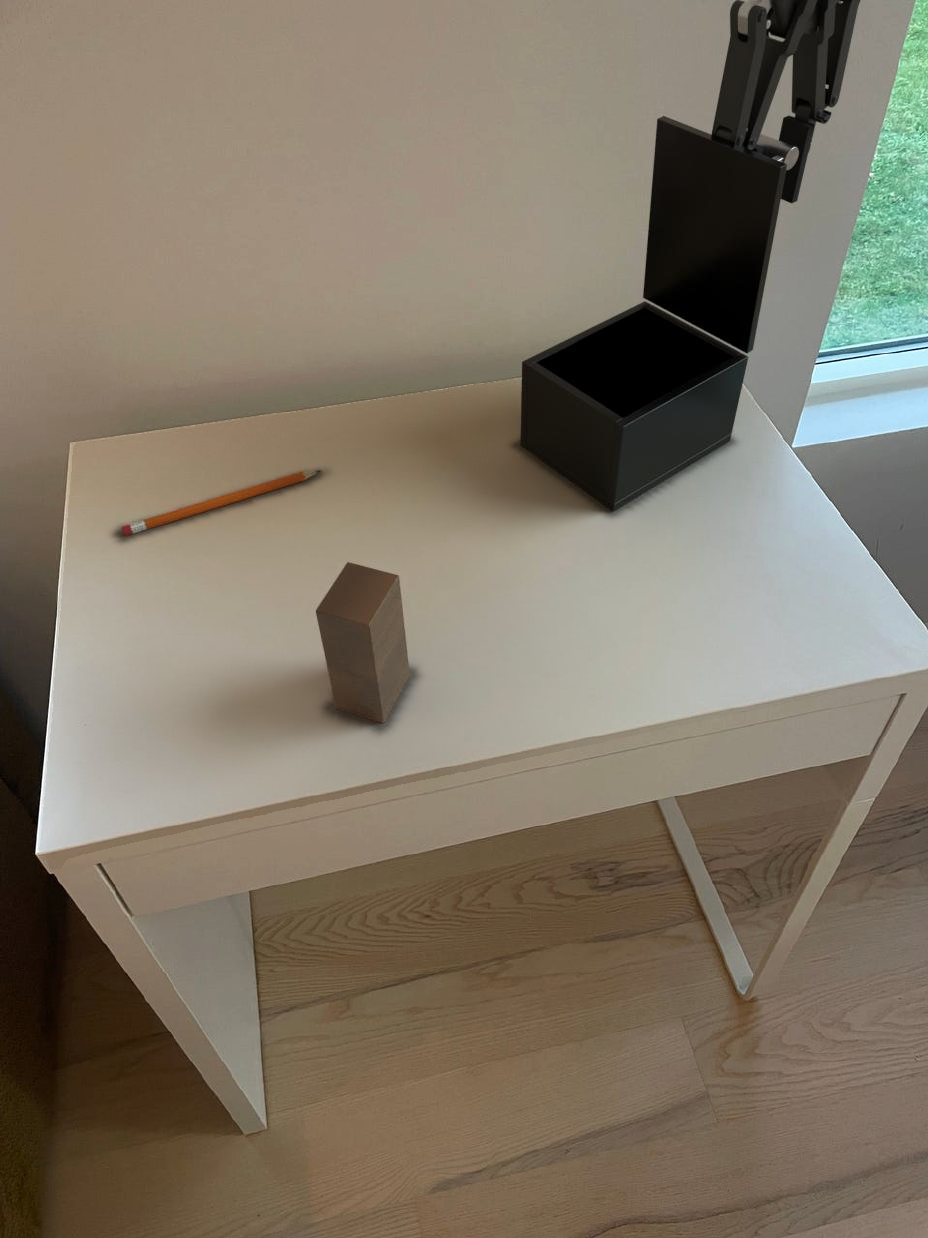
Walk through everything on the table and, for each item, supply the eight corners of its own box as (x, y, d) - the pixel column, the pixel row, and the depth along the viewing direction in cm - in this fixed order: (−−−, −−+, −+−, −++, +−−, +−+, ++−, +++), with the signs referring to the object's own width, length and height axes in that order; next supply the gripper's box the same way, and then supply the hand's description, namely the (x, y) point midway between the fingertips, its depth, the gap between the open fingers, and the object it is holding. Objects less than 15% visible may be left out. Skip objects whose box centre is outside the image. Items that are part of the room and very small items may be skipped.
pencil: (123, 531, 87) (121, 524, 87) (321, 471, 92) (319, 463, 92) (125, 537, 87) (123, 530, 86) (324, 476, 92) (322, 469, 91)
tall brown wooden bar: (410, 674, 75) (399, 574, 67) (383, 723, 72) (369, 625, 64) (363, 661, 76) (347, 561, 68) (335, 709, 73) (315, 610, 65)
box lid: (780, 167, 74) (840, 136, 76) (656, 118, 80) (715, 91, 83) (747, 353, 86) (798, 321, 89) (642, 297, 93) (693, 269, 96)
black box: (613, 512, 87) (623, 426, 80) (519, 445, 94) (521, 361, 87) (730, 441, 94) (749, 356, 87) (634, 383, 100) (645, 300, 94)
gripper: (860, -144, 74) (792, 163, 91) (691, -99, 67) (652, 227, 84) (947, -129, 70) (859, 190, 87) (778, -80, 63) (718, 259, 80)
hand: (758, 207), depth 86 cm, fingers open, 6 cm apart
